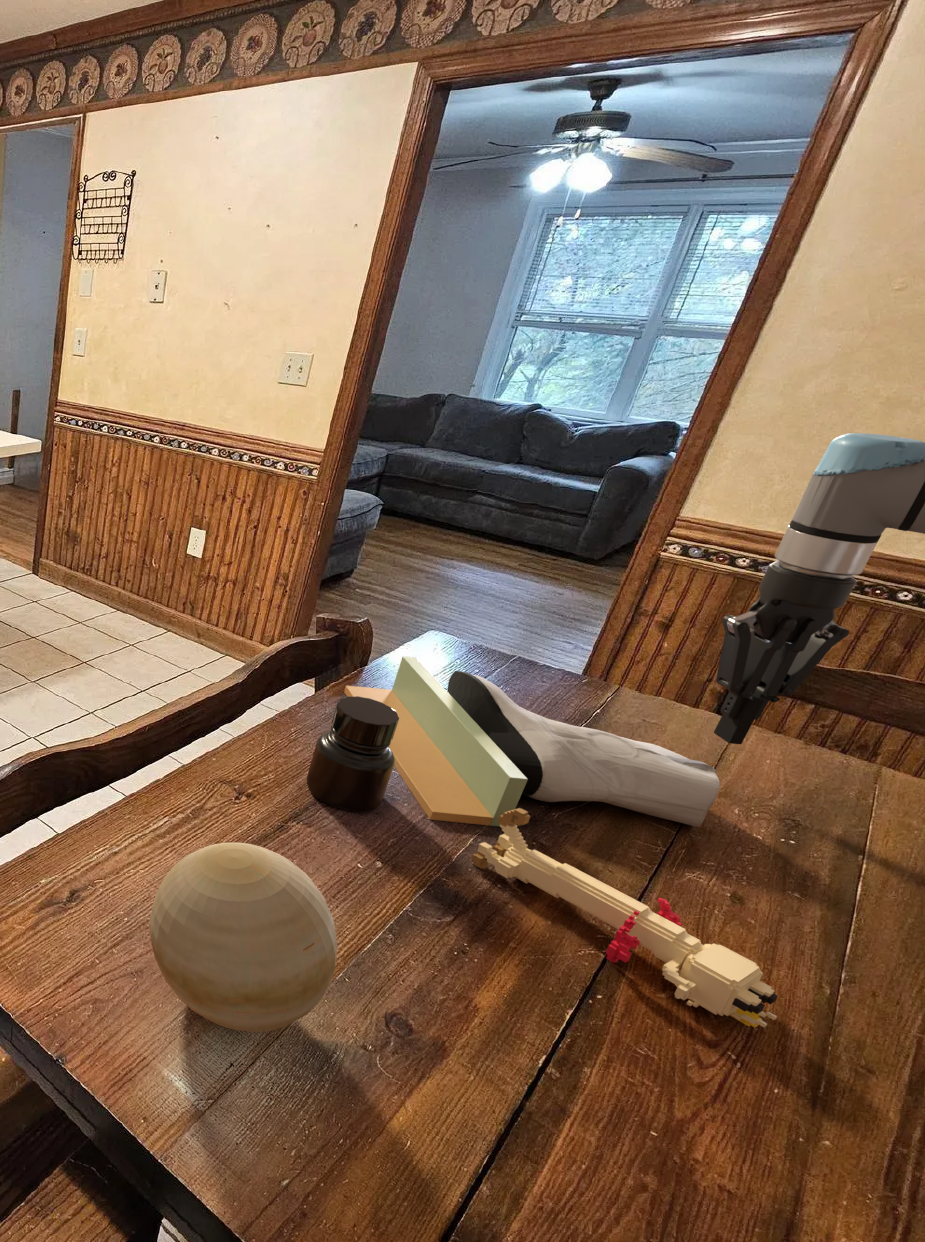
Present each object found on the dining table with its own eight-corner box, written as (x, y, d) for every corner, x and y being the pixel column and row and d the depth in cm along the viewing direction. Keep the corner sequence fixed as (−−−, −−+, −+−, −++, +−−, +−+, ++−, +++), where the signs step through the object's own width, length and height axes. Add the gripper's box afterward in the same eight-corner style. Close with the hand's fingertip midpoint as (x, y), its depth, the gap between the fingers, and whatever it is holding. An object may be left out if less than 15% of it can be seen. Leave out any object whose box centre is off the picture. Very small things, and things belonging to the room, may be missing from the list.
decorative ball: (286, 1109, 61) (334, 969, 55) (110, 1009, 69) (134, 875, 62) (331, 983, 72) (375, 854, 66) (175, 908, 80) (202, 786, 73)
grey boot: (510, 751, 95) (754, 795, 90) (455, 642, 118) (647, 672, 113) (481, 810, 100) (712, 855, 94) (434, 695, 123) (617, 725, 117)
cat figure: (455, 879, 87) (738, 1051, 67) (474, 812, 84) (777, 971, 64) (510, 856, 92) (792, 1011, 71) (530, 791, 88) (832, 933, 68)
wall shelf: (403, 697, 123) (416, 657, 120) (507, 827, 95) (528, 779, 92) (343, 692, 124) (355, 652, 121) (429, 819, 95) (447, 771, 92)
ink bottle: (382, 783, 102) (409, 703, 96) (387, 823, 94) (416, 737, 89) (302, 764, 105) (324, 685, 100) (300, 801, 97) (324, 717, 92)
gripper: (844, 561, 97) (757, 727, 107) (731, 554, 98) (655, 719, 107) (904, 583, 90) (805, 758, 100) (781, 575, 91) (695, 749, 101)
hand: (727, 738), depth 104 cm, fingers closed
